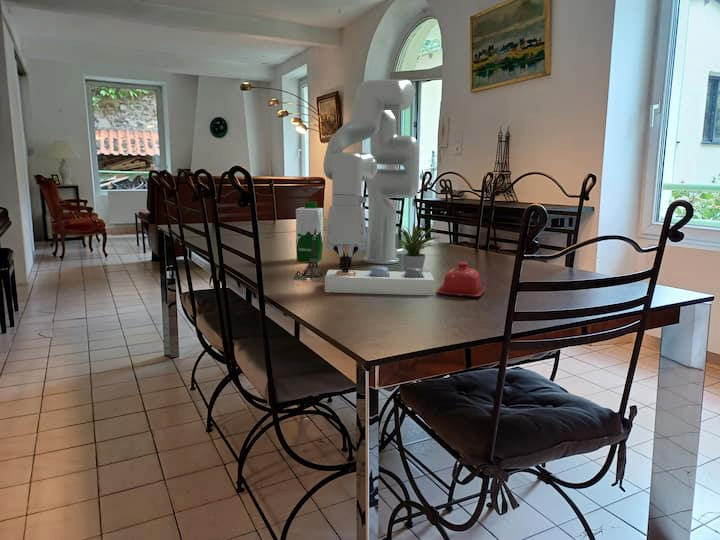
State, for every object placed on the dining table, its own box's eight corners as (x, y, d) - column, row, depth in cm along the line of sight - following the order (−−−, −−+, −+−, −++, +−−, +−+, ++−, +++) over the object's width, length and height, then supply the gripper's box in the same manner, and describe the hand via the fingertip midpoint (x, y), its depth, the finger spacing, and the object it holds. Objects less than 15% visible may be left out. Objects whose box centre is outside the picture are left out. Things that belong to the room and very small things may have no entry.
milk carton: (324, 259, 183) (325, 202, 179) (318, 263, 174) (318, 203, 171) (300, 257, 185) (300, 201, 181) (293, 262, 176) (293, 202, 172)
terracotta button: (354, 281, 141) (354, 270, 140) (353, 285, 136) (353, 273, 136) (337, 281, 141) (338, 269, 140) (336, 284, 136) (336, 272, 136)
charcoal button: (420, 279, 140) (421, 267, 139) (422, 282, 136) (422, 270, 135) (404, 278, 140) (405, 267, 139) (405, 282, 136) (405, 270, 135)
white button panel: (429, 286, 143) (430, 272, 142) (433, 295, 133) (434, 280, 132) (328, 283, 144) (328, 269, 143) (324, 292, 134) (324, 277, 133)
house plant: (412, 282, 148) (414, 225, 145) (378, 274, 158) (380, 220, 155) (444, 276, 157) (447, 222, 154) (411, 269, 167) (413, 218, 164)
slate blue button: (387, 278, 140) (387, 266, 139) (387, 281, 136) (388, 269, 135) (371, 277, 140) (371, 266, 140) (371, 281, 136) (371, 269, 135)
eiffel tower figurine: (296, 272, 161) (296, 229, 158) (329, 273, 161) (329, 230, 159) (291, 283, 146) (291, 235, 144) (327, 283, 147) (328, 236, 144)
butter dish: (434, 296, 134) (436, 263, 132) (444, 287, 144) (446, 256, 142) (479, 301, 129) (482, 267, 128) (486, 291, 140) (488, 260, 138)
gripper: (375, 201, 138) (373, 269, 141) (319, 199, 138) (319, 267, 142) (375, 203, 130) (373, 274, 134) (316, 201, 131) (315, 273, 135)
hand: (345, 270), depth 138 cm, fingers closed
